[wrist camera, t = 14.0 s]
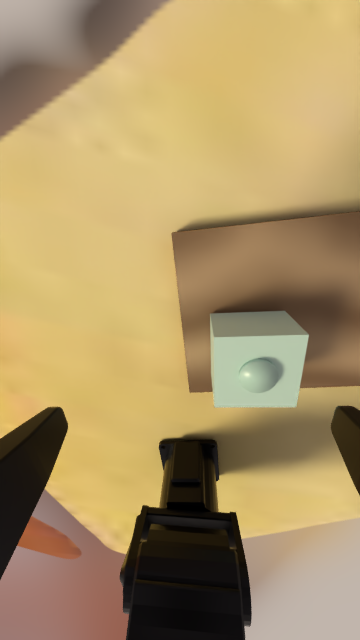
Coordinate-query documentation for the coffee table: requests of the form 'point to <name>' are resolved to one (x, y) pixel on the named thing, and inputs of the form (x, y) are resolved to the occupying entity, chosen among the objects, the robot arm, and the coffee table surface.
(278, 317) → the pale green knobbed block
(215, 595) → the robot arm
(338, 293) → the board
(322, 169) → the coffee table surface
